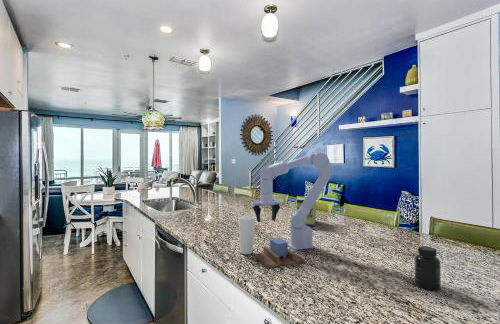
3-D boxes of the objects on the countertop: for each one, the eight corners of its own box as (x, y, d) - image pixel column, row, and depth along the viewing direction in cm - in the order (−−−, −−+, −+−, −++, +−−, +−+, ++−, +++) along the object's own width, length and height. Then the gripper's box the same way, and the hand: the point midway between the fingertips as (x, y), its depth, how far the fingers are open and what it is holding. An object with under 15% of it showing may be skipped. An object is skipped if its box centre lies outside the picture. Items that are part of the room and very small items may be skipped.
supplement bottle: (430, 280, 88) (430, 244, 88) (445, 291, 81) (446, 252, 81) (409, 281, 88) (410, 244, 88) (423, 291, 81) (424, 252, 81)
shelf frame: (289, 251, 115) (289, 243, 114) (304, 262, 103) (304, 253, 103) (254, 256, 109) (254, 247, 109) (266, 267, 98) (266, 258, 98)
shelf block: (287, 255, 105) (287, 242, 105) (277, 257, 103) (277, 244, 103) (279, 250, 110) (279, 238, 110) (269, 252, 108) (270, 239, 108)
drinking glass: (240, 256, 109) (240, 219, 109) (236, 250, 116) (237, 216, 115) (256, 254, 111) (256, 218, 111) (252, 249, 117) (252, 215, 117)
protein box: (296, 225, 158) (296, 199, 158) (299, 220, 173) (299, 196, 173) (314, 227, 155) (314, 200, 155) (315, 221, 170) (316, 196, 170)
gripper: (276, 190, 132) (276, 218, 132) (249, 191, 127) (248, 220, 127) (283, 192, 125) (282, 221, 125) (254, 193, 120) (253, 223, 121)
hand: (266, 221), depth 126 cm, fingers open, 7 cm apart
